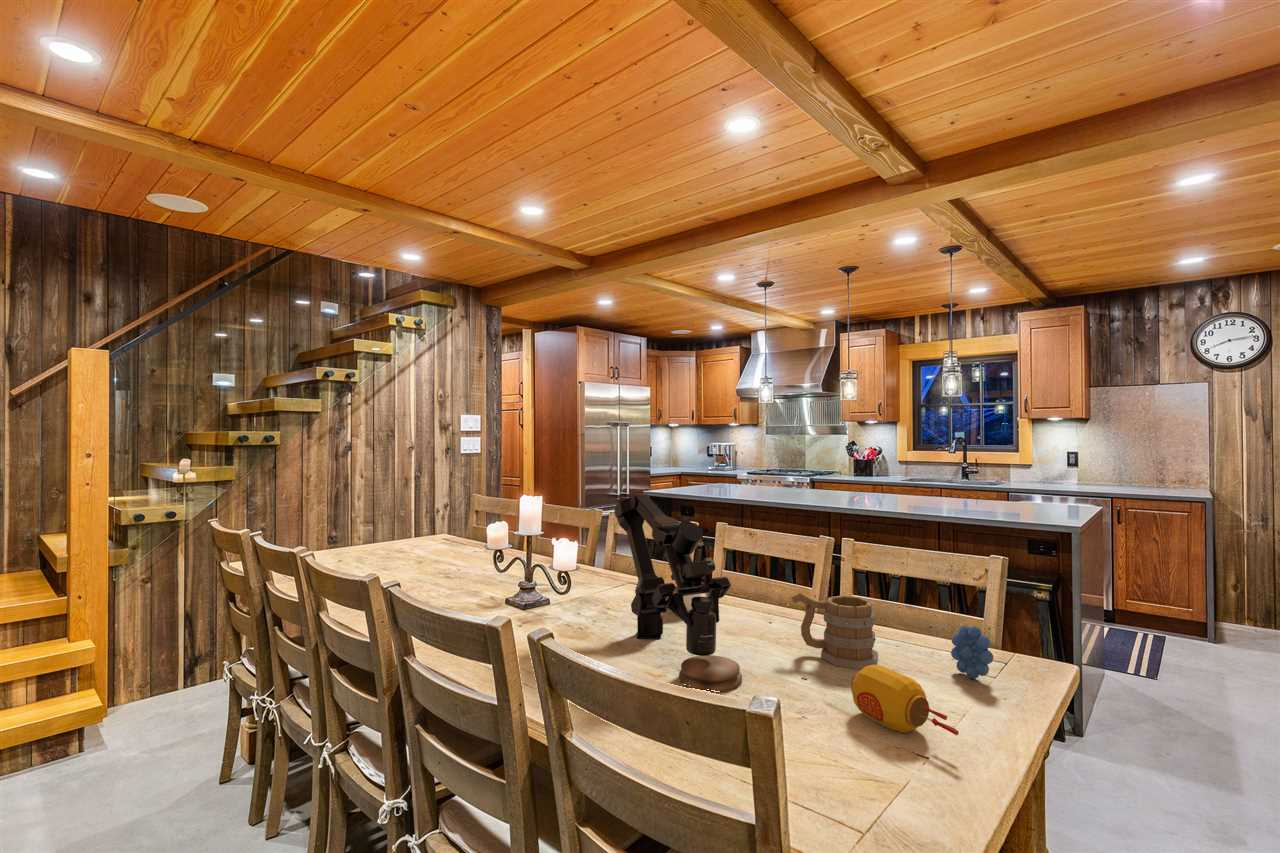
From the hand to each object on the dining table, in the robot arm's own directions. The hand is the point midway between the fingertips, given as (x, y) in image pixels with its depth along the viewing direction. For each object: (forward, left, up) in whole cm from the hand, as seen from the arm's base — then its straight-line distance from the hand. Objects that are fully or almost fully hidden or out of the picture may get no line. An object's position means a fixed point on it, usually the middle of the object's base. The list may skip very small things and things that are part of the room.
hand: (704, 623), depth 139 cm
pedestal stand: (+1, -2, -12) cm, 12 cm away
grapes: (+60, +1, -12) cm, 61 cm away
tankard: (+32, +13, -12) cm, 37 cm away
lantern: (+34, -21, -12) cm, 42 cm away
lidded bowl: (-5, +50, -12) cm, 51 cm away
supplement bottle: (-1, +1, -7) cm, 7 cm away
